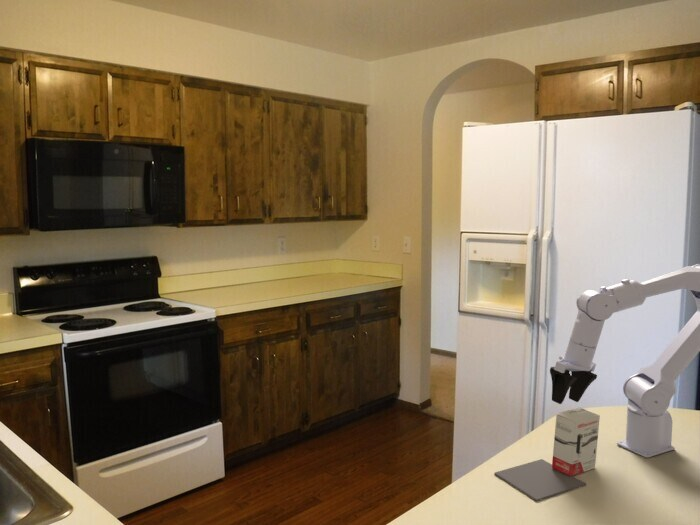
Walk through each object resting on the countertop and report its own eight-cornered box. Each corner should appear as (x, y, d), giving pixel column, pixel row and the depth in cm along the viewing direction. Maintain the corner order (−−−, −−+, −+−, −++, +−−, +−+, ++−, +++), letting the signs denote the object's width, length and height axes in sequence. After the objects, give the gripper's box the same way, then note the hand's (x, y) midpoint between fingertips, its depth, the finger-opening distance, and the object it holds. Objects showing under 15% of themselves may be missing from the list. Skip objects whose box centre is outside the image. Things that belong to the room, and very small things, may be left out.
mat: (541, 460, 127) (541, 459, 127) (586, 485, 117) (586, 483, 117) (494, 474, 122) (494, 472, 122) (536, 501, 111) (536, 499, 111)
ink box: (571, 477, 119) (575, 421, 118) (550, 468, 123) (554, 413, 122) (596, 468, 124) (600, 413, 122) (576, 459, 128) (580, 406, 127)
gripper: (582, 337, 138) (565, 392, 140) (550, 337, 128) (532, 395, 130) (610, 348, 133) (592, 405, 134) (579, 348, 123) (560, 409, 125)
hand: (565, 401), depth 132 cm, fingers open, 7 cm apart
